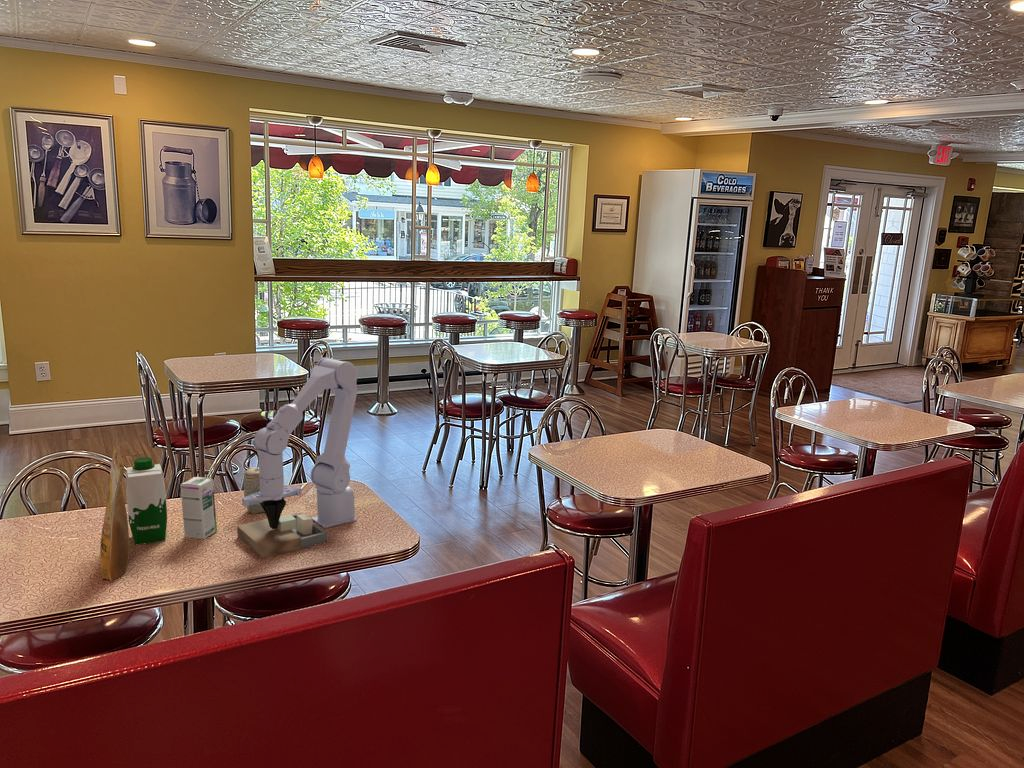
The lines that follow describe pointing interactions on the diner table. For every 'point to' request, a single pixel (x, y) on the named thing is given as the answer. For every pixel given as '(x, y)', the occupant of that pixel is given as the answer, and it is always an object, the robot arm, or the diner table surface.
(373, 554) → the diner table surface
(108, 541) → the pancake mix bag
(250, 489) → the carving
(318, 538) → the box
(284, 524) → the tile
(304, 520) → the tile
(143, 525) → the milk carton
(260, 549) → the board
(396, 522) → the diner table surface
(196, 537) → the syrup box
